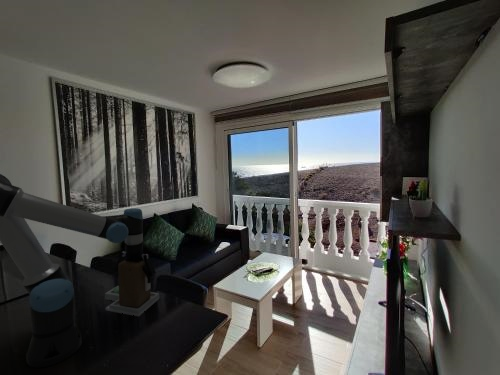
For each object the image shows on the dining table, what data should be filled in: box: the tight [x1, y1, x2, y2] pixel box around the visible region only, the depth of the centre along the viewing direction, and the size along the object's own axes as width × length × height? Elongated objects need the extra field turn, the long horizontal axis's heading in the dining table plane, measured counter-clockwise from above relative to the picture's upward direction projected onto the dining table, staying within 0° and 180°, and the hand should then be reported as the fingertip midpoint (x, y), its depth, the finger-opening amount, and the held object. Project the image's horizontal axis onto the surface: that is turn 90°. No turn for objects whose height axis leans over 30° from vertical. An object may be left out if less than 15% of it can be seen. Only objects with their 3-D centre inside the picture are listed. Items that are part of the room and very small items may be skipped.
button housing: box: [104, 285, 119, 302], centre depth 123 cm, size 8×8×3 cm
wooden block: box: [117, 259, 151, 308], centre depth 115 cm, size 10×10×20 cm
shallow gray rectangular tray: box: [105, 291, 160, 317], centre depth 116 cm, size 15×17×3 cm
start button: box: [113, 285, 119, 294], centre depth 123 cm, size 4×4×3 cm
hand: (135, 287), depth 116 cm, fingers open, 13 cm apart
